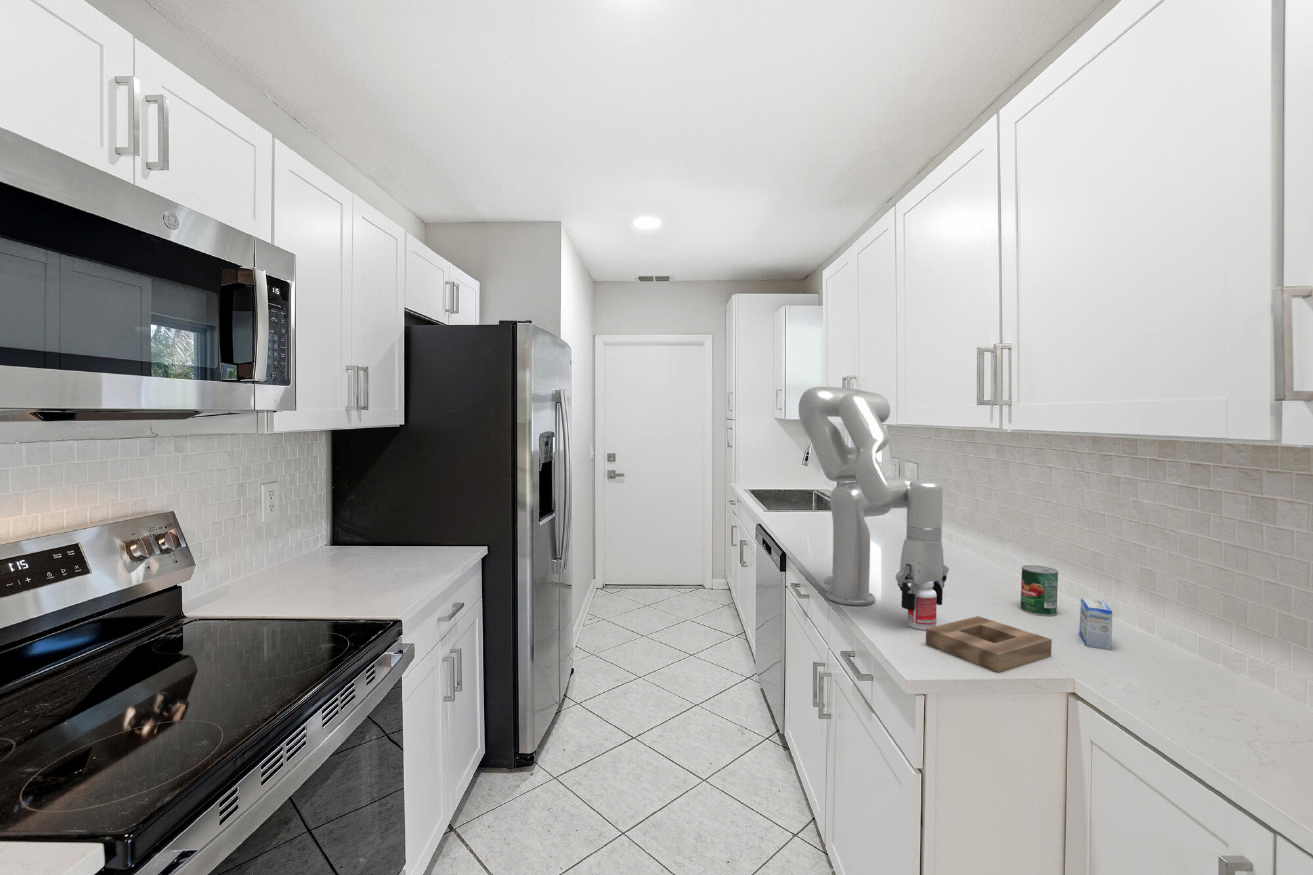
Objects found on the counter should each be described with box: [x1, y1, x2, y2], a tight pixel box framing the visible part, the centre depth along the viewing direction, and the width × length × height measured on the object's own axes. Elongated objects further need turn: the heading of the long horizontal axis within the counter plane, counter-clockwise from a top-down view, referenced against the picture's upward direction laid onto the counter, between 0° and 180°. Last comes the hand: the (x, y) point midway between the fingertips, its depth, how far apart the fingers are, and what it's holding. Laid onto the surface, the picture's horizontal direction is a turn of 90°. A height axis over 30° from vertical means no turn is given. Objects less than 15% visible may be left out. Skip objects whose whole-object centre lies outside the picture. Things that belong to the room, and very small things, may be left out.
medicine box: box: [1078, 597, 1113, 650], centre depth 130 cm, size 8×4×9 cm, turn 154°
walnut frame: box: [925, 615, 1053, 674], centre depth 125 cm, size 16×18×4 cm
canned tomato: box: [1019, 564, 1059, 617], centre depth 151 cm, size 8×8×11 cm
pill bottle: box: [907, 579, 937, 631], centre depth 139 cm, size 6×6×11 cm
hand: (922, 606), depth 139 cm, fingers open, 9 cm apart
